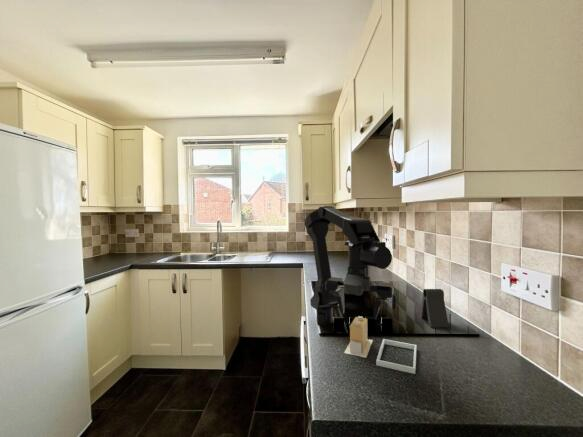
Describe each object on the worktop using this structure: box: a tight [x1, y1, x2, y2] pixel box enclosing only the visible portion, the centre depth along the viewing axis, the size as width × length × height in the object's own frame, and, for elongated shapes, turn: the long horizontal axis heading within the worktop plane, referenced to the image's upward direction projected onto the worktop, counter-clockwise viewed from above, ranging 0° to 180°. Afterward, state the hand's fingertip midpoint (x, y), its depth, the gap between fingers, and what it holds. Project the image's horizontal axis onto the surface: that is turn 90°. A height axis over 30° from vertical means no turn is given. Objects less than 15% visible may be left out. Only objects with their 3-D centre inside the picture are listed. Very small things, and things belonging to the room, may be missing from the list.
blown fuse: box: [349, 315, 368, 353], centre depth 78 cm, size 7×4×8 cm, turn 154°
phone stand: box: [418, 288, 450, 329], centre depth 97 cm, size 9×6×12 cm, turn 178°
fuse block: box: [343, 339, 374, 359], centre depth 78 cm, size 11×6×4 cm, turn 154°
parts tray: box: [375, 338, 417, 375], centre depth 73 cm, size 13×9×2 cm
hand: (358, 316), depth 78 cm, fingers open, 9 cm apart
